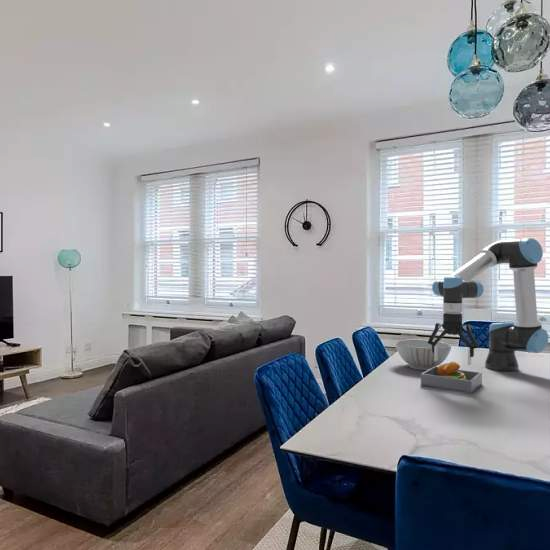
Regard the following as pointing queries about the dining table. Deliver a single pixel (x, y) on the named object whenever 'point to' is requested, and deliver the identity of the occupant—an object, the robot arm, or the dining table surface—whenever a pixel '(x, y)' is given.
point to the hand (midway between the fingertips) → (452, 362)
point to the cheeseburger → (451, 371)
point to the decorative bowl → (421, 353)
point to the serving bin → (452, 381)
